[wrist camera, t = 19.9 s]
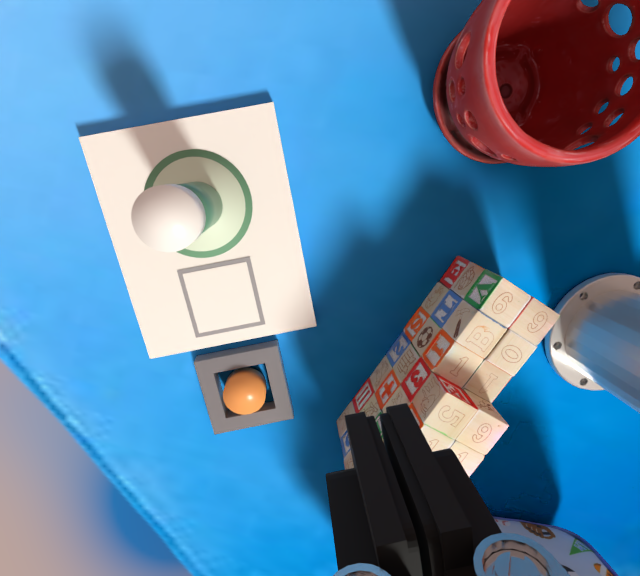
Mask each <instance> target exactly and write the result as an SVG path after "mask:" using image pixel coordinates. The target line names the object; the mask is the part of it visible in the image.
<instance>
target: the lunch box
mask: <svg viewBox="0 0 640 576" xmlns="http://www.w3.org/2000/svg"><path fill="white" fill-rule="evenodd" d="M493 518H494V520H495V521H496V523H497V525H498V526H499V528H500V530H501V532H502V533H514V534H518V535H522V536H525V537H528V538H530V539H532V540H534V541H535V542H537V543H539V544H541V545H542V546H543V547H544V548H545V549H546V550H547V551H549V552H550V553H551V554H552V555H553V556H554V558H555V559H556V560H557V561H558V562H559V563H560V564H561V565H562V567H563V568H564V569H565V570H566V571H567V572H568V573H569V574H570V576H618V575H617V574H616V572H615V571H614V570H613V569H612V568H611V567H610V565H609V564H608V563H607V562H606V561H605V560H604V559H603V557H602V556H601V555H600V554H599V553H598V552H597V551H596V550H595V549H594V548H593V547H592V546H591V545H590V544H589V543H588V542H587V541H586V540H584V539H583V538H581V537H580V536H579V535H577V534H575V533H573V532H571V531H568V530H566V529H563V528H560V527H556V526H551V525H545V524H539V523H534V522H529V521H524V520H517V519H510V518H501V517H494V516H493Z"/></svg>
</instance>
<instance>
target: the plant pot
mask: <svg viewBox="0 0 640 576" xmlns="http://www.w3.org/2000/svg"><path fill="white" fill-rule="evenodd" d="M617 3H619V4H624V5H626V6H628V8H629V9H630V10H631V13H632V23H631V26H630V28H629V31H628V32H627V33H626V34H625V35H617V34H616V33H614V32H613V30H612V29H611V27H610V25H609V19H608V15H609V11H610V9H611V7H612V6H613V5H615V4H617ZM639 40H640V0H598V5H597V6H595V7H588V6H586V5H584V4H583V3H582V2H581V0H482V2H481V3H480V4H479V6H478V7H477V8H476V9H475V11H474V12H473V14H472V15H471V17H470V18H469V20H468V22H467V23H466V25H465V27H464V28H463V30H462V31H461V32H460V33H459V34H458V35H457V36H456V37H455V38H454V39H453V41H452V42H451V43H450V45H449V46H448V47H447V49H446V50H445V52H444V54H443V56H442V58H441V60H440V62H439V65H438V68H437V71H436V74H435V79H434V85H433V106H434V112H435V116H436V119H437V122H438V125H439V127H440V129H441V131H442V133H443V135H444V136H445V138H446V139H447V140H448V142H449V143H450V144H451V145H452V146H453V147H454V148H455V149H456V150H457V151H458V152H460V153H461V154H463V155H464V156H466V157H468V158H470V159H472V160H475V161H478V162H483V163H489V164H500V163H507V162H508V163H512V164H516V165H523V166H536V167H558V166H569V165H578V164H584V163H589V162H593V161H596V160H599V159H602V158H605V157H607V156H609V155H612V154H614V153H615V152H617V151H619V150H621V149H622V148H624V147H626V146H627V145H629V144H630V143H631V142H632V141H634V140H635V139H636V138H637V137H638V136H639V135H640V60H638V59H636V57H635V47H636V44H637V42H638V41H639ZM616 57H618V58H619V59H620V65H619V67H618V69H617V70H616V71H615V72H614V71H613V70H612V64H613V61H614V59H615V58H616ZM629 77H633V85H632V87H631V89H630V90H629V91H628V93H626V94H625V95H623V96H621V95H620V91H621V87H622V85H623V83H624V82H625V81H626V80H627V78H629ZM607 102H609V104H608V106H607V108H606V109H605V110H604V111H603V112H602V113H600V114H598V111H599V110H600V108H601V106H602V105H603V104H605V103H607ZM622 113H623V115H622V116H621V117H620V119H619V120H618V121H617V122H616V123H615V124H614V125H611V126H609V125H610V124H611V122H612V121H613V120H614V119H615V118H616V117H617V116H618V115H620V114H622ZM589 127H591V128H590V129H589V130H588V131H587V132H585V133H584V134H581V133H582V132H583V131H585V130H586V129H587V128H589ZM580 134H581V135H580ZM591 142H594V143H593V144H591V145H589V146H587V147H584V148H581V149H577V150H574V149H576V148H578V147H579V146H582V145H585V144H587V143H591Z"/></svg>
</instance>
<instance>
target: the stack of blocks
mask: <svg viewBox="0 0 640 576" xmlns="http://www.w3.org/2000/svg"><path fill="white" fill-rule="evenodd" d="M560 316H561V315H559V314H558V313H556V312H555V311H553V310H552V309H550V308H549V307H547V306H546V305H544V304H543V303H541V302H540V301H538V300H537V299H535V298H534V297H532V296H530V295H528V294H527V293H526V292H524V291H523V290H521V289H520V288H518V287H517V286H515V285H514V284H512V283H511V282H509V281H508V280H506V279H505V278H503V277H501V276H499V275H497V274H495V273H493V272H491V271H489V270H487V269H484V268H482V267H481V266H479V265H477V264H475V263H473V262H470V261H468V260H467V259H465V258H463V257H461V256H458V255H457V257H456V258H455V260H454V261H453V262H452V264H451V265H450V267H449V268H448V270H447V271H446V272H445V274H444V275H443V277H442V278H441V279H440V282H437V283H436V285H435V286H434V288H433V289H432V290H431V292H430V293H429V295H428V296H427V297H426V299H425V300H424V301H423V303H422V305H421V306H420V307H419V308H418V310H417V311H416V312H415V314H414V315H413V316H412V318H411V319H410V320H409V322H408V323H407V325H406V326H405V327H404V329H403V332H402V333H401V334H400V335H399V337H398V338H397V340H396V341H395V342H394V344H393V345H392V347H391V348H390V349H389V351H388V352H387V354H386V355H385V357H384V358H383V359H382V361H381V362H380V363H379V365H378V366H377V368H376V369H375V370H374V372H373V373H372V374H371V376H370V377H369V378H368V379H367V380H366V382H365V383H364V384H363V386H362V387H361V388H360V390H359V391H358V393H357V394H356V395H355V397H354V398H353V399H352V401H351V402H350V403H349V405H348V406H347V407H346V409H345V410H344V411H343V413H342V414H341V415H340V417H339V418H338V420H337V427H338V432H339V437H340V439H341V446H342V451H343V457H344V465H345V470H346V469H351V468H354V465H353V460H352V454H351V449H350V444H349V438H348V433H347V427H346V422H345V416H344V415H349V414H354V413H359V412H365V414H366V417H368V416H374V418H375V420H376V423H377V426H378V429H379V431H380V434H381V437H382V440H383V435H382V429H381V422H380V414H383V413H386V407H389V406H394V405H399V404H404V403H407V404H408V406H409V408H410V410H411V412H412V413H413V415H414V417H415V419H416V421H417V423H418V425H419V427H420V429H421V431H422V433H423V435H424V436H425V438H426V440H427V442H428V444H429V446H430V448H431V450H432V452H433V451H438V450H443V449H448V448H450V449H452V450H453V452H454V453H455V454H456V456H457V458H458V459H459V461H460V463H461V465H462V466H463V468H464V470H465V471H466V473H467V475H468V476H469V477H470V476H471V474H472V473H473V472H474V471H475V469H476V468H477V467H478V465H479V464H480V463H481V462H482V461H483V459H484V457H485V455H486V454H487V453H488V452H489V451H490V450H491V448H492V447H493V446H494V445H495V443H496V442H497V441H498V440H499V438H500V437H501V436H502V434H503V433H504V432H505V431H506V429H507V428H508V427H509V425H508V423H507V422H506V421H505V420H504V419H503V417H502V416H501V415H500V414H499V413H498V411H497V410H496V409H495V408H494V407H493V405H492V404H491V403H492V402H493V401H494V400H495V398H496V397H497V396H498V394H499V393H500V392H501V391H502V389H503V388H504V387H505V386H506V384H507V383H508V382H509V381H510V379H511V378H512V376H514V375H515V374H516V373H517V372H518V371H519V369H520V368H521V367H522V366H523V364H524V363H525V362H526V361H527V359H528V358H529V357H530V356H531V354H532V353H533V352H534V351H535V349H536V348H537V345H538V344H539V343H540V342H541V340H542V339H543V338H544V337H545V335H546V334H547V333H548V332H549V330H550V329H551V328H552V327H553V325H554V324H555V323H556V322H557V320H558V319H559V318H560ZM383 443H384V441H383Z"/></svg>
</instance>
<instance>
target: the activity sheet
mask: <svg viewBox="0 0 640 576" xmlns="http://www.w3.org/2000/svg"><path fill="white" fill-rule="evenodd" d="M79 140H80V143H81V146H82V149H83V152H84V155H85V159H86V162H87V165H88V168H89V171H90V174H91V177H92V180H93V183H94V186H95V190H96V193H97V196H98V199H99V202H100V205H101V208H102V211H103V214H104V217H105V221H106V224H107V227H108V230H109V233H110V236H111V239H112V242H113V245H114V248H115V252H116V255H117V258H118V261H119V264H120V267H121V270H122V273H123V276H124V280H125V283H126V286H127V289H128V292H129V295H130V298H131V301H132V304H133V307H134V311H135V314H136V317H137V320H138V323H139V326H140V329H141V332H142V335H143V338H144V342H145V345H146V348H147V351H148V354H149V357H150V359H152V358H157V357H162V356H167V355H172V354H177V353H182V352H188V351H193V350H198V349H203V348H208V347H213V346H218V345H223V344H228V343H233V342H239V341H244V340H249V339H254V338H259V337H264V336H269V335H274V334H279V333H284V332H289V331H295V330H300V329H305V328H310V327H315V326H317V325H316V320H315V315H314V310H313V305H312V299H311V294H310V289H309V284H308V279H307V274H306V268H305V263H304V258H303V253H302V248H301V243H300V237H299V232H298V227H297V222H296V217H295V212H294V206H293V201H292V196H291V191H290V186H289V181H288V175H287V170H286V165H285V160H284V155H283V149H282V144H281V139H280V134H279V129H278V124H277V118H276V113H275V108H274V103H273V102H270V103H264V104H259V105H253V106H248V107H242V108H237V109H231V110H226V111H220V112H215V113H209V114H204V115H198V116H193V117H187V118H182V119H176V120H171V121H165V122H160V123H154V124H149V125H143V126H138V127H132V128H127V129H121V130H116V131H110V132H105V133H99V134H94V135H88V136H82V137H79ZM189 182H204V183H207V184H209V185H210V186H212V187H213V188H214V189H215V190H216V191H217V192H218V193H219V195H220V197H221V200H222V204H223V209H222V214H221V217H220V218H219V220H218V221H217V222H216V223H215V224H214V225H213V226H211V227H210V228H209V229H207V230H206V231H205V232H203V233H202V234H201V235H200V236H199V238H197V239H196V240H195V241H194V242H193V243H191V244H190V245H189V246H187V247H186V248H184V249H182V250H180V251H177V252H160V251H157V250H154V249H152V248H150V247H149V246H147V245H146V244H145V243H143V242H142V241H141V239H140V238H139V237H138V236H137V234H136V232H135V230H134V228H133V225H132V220H131V211H132V207H133V204H134V202H135V200H136V198H137V197H138V196H139V195H140V194H141V193H142V192H143V191H145V190H146V189H148V188H151V187H153V186H158V185H165V184H183V183H189Z"/></svg>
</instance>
